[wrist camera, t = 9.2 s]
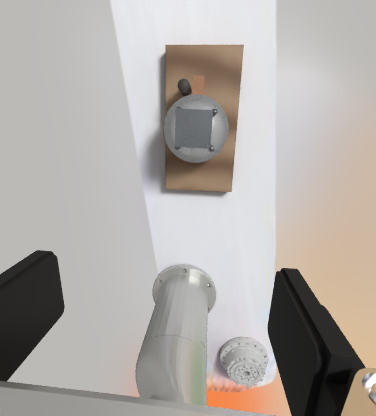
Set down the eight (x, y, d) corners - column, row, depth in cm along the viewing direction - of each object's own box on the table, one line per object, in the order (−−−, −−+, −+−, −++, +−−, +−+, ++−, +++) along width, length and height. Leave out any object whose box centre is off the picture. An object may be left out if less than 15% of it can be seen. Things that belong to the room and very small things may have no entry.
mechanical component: (227, 374, 54) (271, 367, 52) (228, 395, 49) (276, 388, 48) (214, 340, 51) (260, 332, 49) (215, 358, 47) (265, 350, 45)
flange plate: (224, 163, 35) (227, 169, 29) (164, 159, 36) (155, 164, 30) (232, 79, 32) (237, 66, 26) (166, 76, 33) (157, 63, 27)
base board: (230, 189, 41) (233, 198, 35) (167, 186, 42) (160, 194, 36) (241, 49, 35) (247, 32, 29) (168, 49, 36) (159, 33, 30)
